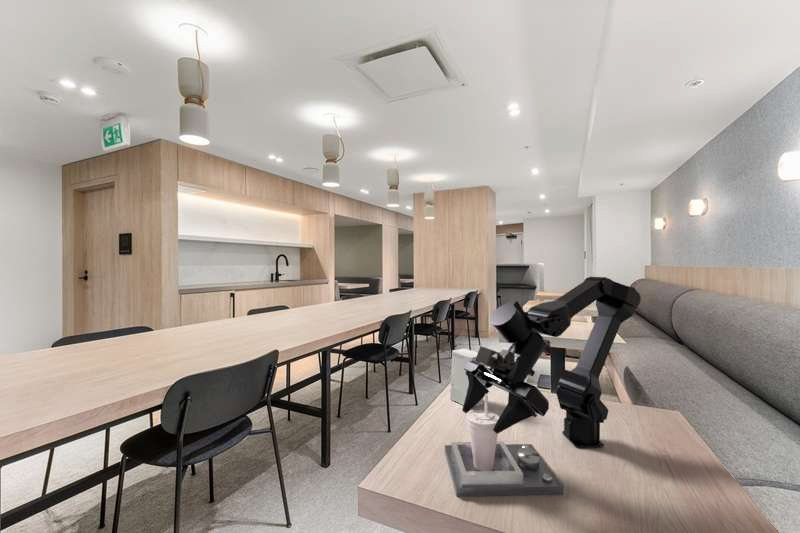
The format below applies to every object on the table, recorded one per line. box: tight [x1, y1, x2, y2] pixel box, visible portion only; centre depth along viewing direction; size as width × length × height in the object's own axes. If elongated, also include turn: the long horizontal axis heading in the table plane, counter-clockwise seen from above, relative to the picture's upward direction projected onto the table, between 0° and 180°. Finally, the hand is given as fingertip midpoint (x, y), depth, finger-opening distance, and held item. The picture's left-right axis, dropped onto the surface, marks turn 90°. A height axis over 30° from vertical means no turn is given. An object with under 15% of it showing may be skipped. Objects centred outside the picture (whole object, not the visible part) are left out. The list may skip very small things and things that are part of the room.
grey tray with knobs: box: [444, 441, 564, 497], centre depth 68 cm, size 19×14×4 cm
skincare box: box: [449, 348, 485, 407], centre depth 101 cm, size 8×6×15 cm
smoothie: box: [466, 393, 500, 471], centre depth 67 cm, size 6×6×14 cm
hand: (478, 421), depth 66 cm, fingers open, 9 cm apart
